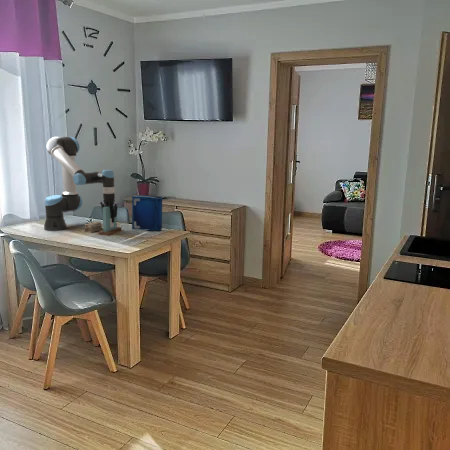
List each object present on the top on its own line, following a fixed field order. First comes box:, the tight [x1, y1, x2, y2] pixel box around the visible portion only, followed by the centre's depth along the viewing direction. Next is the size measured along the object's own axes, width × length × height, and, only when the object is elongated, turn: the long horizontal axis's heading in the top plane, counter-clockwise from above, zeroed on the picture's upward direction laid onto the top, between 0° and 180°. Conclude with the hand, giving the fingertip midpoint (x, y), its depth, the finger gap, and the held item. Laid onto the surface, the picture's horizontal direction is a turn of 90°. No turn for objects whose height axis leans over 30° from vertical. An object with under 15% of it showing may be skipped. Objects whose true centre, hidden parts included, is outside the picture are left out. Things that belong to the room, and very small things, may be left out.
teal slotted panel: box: [102, 205, 118, 232], centre depth 304 cm, size 2×12×18 cm, turn 159°
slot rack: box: [95, 226, 126, 237], centre depth 306 cm, size 12×19×3 cm, turn 159°
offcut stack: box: [83, 221, 103, 233], centre depth 310 cm, size 6×13×6 cm, turn 159°
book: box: [131, 194, 163, 232], centre depth 318 cm, size 22×7×25 cm, turn 84°
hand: (110, 226), depth 305 cm, fingers closed on teal slotted panel, 2 cm apart
